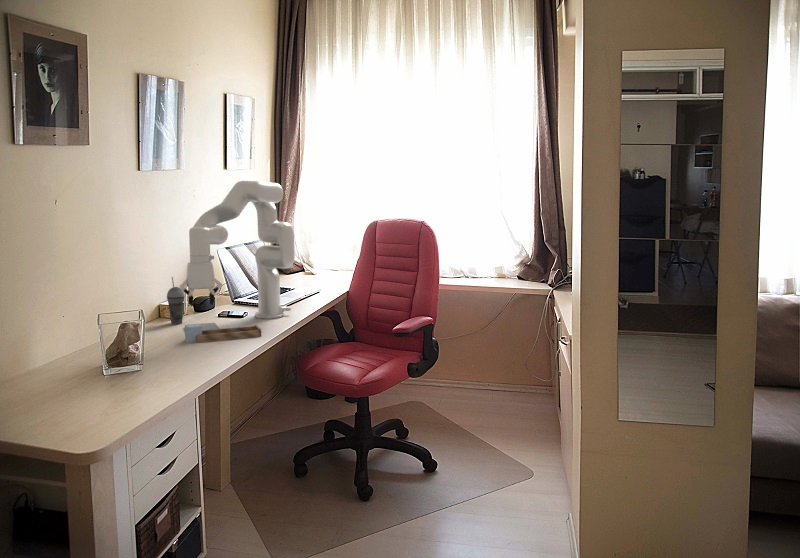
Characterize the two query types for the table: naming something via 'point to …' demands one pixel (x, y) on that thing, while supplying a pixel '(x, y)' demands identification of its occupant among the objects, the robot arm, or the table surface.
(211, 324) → the pad
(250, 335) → the channel
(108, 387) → the table surface
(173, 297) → the beverage cup
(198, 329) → the block
